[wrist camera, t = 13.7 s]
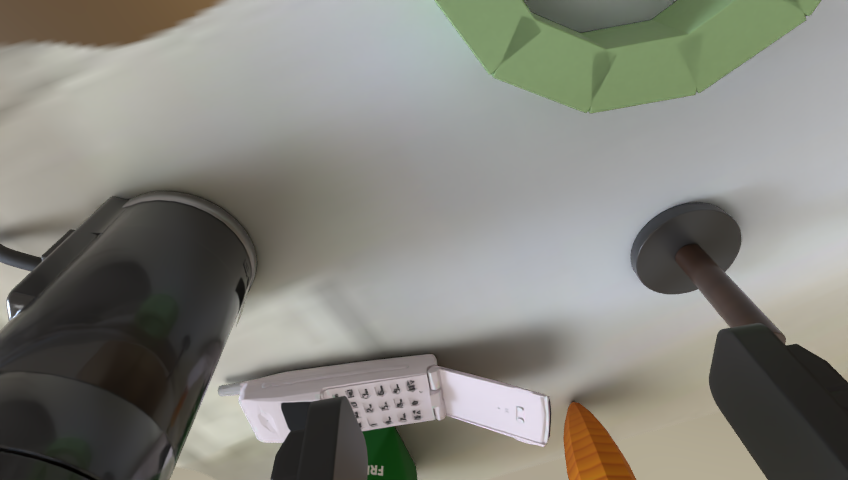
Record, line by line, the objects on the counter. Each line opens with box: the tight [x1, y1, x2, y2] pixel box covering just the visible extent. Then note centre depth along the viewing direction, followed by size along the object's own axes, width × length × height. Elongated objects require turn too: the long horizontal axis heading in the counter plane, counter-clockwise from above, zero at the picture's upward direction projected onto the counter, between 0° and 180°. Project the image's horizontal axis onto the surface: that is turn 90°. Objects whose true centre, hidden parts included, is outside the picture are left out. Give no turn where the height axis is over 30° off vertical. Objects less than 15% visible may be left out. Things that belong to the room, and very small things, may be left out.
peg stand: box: [631, 203, 786, 344], centre depth 30 cm, size 7×7×10 cm
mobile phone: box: [218, 354, 551, 447], centre depth 37 cm, size 6×6×25 cm
